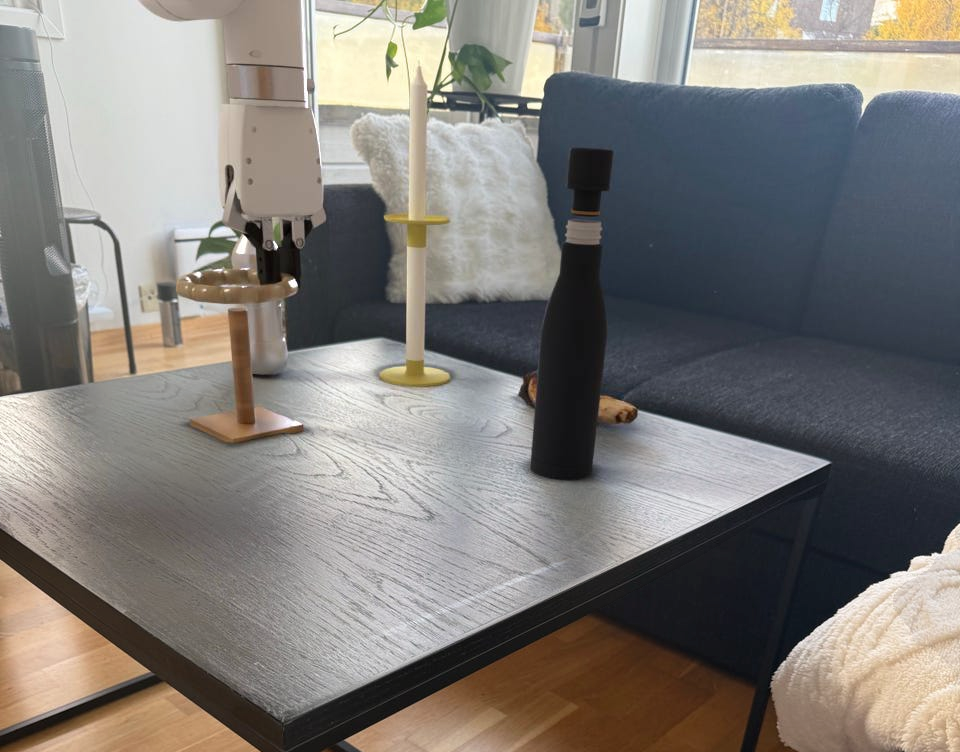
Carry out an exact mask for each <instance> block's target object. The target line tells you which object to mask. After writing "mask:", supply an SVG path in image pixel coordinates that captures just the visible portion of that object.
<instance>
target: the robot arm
mask: <svg viewBox="0 0 960 752" xmlns="http://www.w3.org/2000/svg"><path fill="white" fill-rule="evenodd" d="M303 1H304V0H138V2H139V3H140V4H141V5H142V6H143V7H144V8H145V9H146V10H148V11H149V12H150V13H151V14H154V15H155V16H156V17H159V18H161V19H163V20H167V21H171V22H179V23H180V22H181V23H182V22H191V21H204V20H205V21H206V20H207V21H208V20H220V21H221V22H222V25H223V26H222V27H223V38H224V49H225V61H226V63H225V64H226V75H227V86H228V97H229V103H221V108H220V116H219V127H218V143H217V144H218V150H217V151H218V152H217V153H218V154H217V157H218V159H217V161H218V165H217V166H218V188H219V189H218V190H219V199H220V204H221V207H222V209H223V213H222V218H221V222H222V224H223V225H224V226H225V227H227V228H230V229H232V230H235V231H237V232H240V233H241V235H242V234H243V235H244V236H245V237H246V238H247V239H248V240H249V241H250V244H251V246H252V247H254V248H256V261H257V274H258V279H259V280H260V285H268V284H276V283H279V282H281V273H285V274H289V275H292V276H293V277H294V278H295V280H296V282H297V285H298V290H299V289H300V288H301V277H302V267H301V266H302V265H301V249H303V248H304V247H305V243H306V241H305V240H306V239H307V237H308V236H309V235H310V233H311V231H312V230H313V229H315V228H317V227H318V226H320V225H322V224H324V223H325V222H326V220H327V214H326V212H325V209H324V208H325V207H324V206H323V204H324V180H323V178H324V177H323V167H322V155H321V148H320V147H321V146H320V141H319V136H318V129H317V125H316V119H315V115H314V112H313V108H312V107H308V95H313V94H314V93H315V89H316V85H315V84H316V83H315V81H314V80H313V79H312V78H308V77H307V68H306V47H305V45H306V44H305V25H304V2H303ZM242 214H247V216H248V220H246V219H244V218H243V217H242ZM273 218H279V233H280V234H279V235H280V243H281V245H277V250H274V242H275V238H274V223H273Z"/></svg>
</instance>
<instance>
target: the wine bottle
mask: <svg viewBox="0 0 960 752" xmlns="http://www.w3.org/2000/svg"><path fill="white" fill-rule="evenodd" d="M613 159H614V150H613V149H607V148H593V147H570V148H569V150H568V161H567V163H568V164H567V175H566V189H568V190H573V194H572V206H571V209H570V213H571V215H572V216H578V217H588V218H589V217H590V218H592V217H593V218H595V217H596V218H597V217H599V216H600V215H601V211H600V209H601V201H602V192H609V191H610V188H611V186H610V184H611V179H612V169H613V168H612V167H613ZM565 228H566V233H565V234H564V236H565V237H566V240H564V241H563V242H562V243H561V250H560V251H561V252H560V262H559V263H560V265H559V272H558V276H557V278H556V281H555V283H554V286H553V288H552V291H551V293H550V296H549V299H548V301H547V305H546V308H545V311H544V314H543V319H542V324H541V327H540V337H539V350H538V363H537V371H538V374H537V387H536V400H535V406H534V413H533V427H532V437H531V438H532V439H531V440H532V441H531V452H530V453H531V454H530V466H529V467H530V471H531V472H532V473H533V474H535V475H537V476H540V477H543V478H546V479H551V480H558V481H578V480H582V479H586V478H588V477H590V476H591V474H592V472H593V463H594V455H595V446H596V440H597V439H596V437H597V430H598V423H597V421H598V412H599V404H600V395H601V394H602V384H603V376H604V367H605V359H606V351H607V350H606V349H607V340H608V320H607V319H608V318H607V309H606V308H607V307H606V301H605V295H604V290H603V286H602V281H601V277H600V276H601V275H600V274H601V267H602V256H603V248H604V247H603V244H601V243H600V240H601V239H602V236H601V231H603V227H602V222H601V221H598V220H591V219H568V220H567V224H566V225H565Z"/></svg>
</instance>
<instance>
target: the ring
mask: <svg viewBox="0 0 960 752" xmlns="http://www.w3.org/2000/svg"><path fill="white" fill-rule="evenodd" d="M242 284H251V285H260V280H259V279H258V274H257V269H233V268H218V269H208V270H199V271H193V272H191V273H188V274H184V275H180V276H179V277H178V278H177V280H176V284H175V285H176V286H175V291H176V293H177V294H178V296H180V297H182V298H185V299H187V300H191V301H194V302H197V303H208V304H218V305H239V304H255V303H262V302H270V301H277V300H281V301H282V300H284V299H286V298H289V297H292V296H294V295H296V294H297V293H298V290H299V289H298V285H297V282H296V280H295V278H294V277H293V276H292V275H289V274H285V273H281V282H279V283H276V284H268V285H260V286H247V287H237V286H236V285H242ZM231 285H232V286H231ZM234 285H235V286H234Z"/></svg>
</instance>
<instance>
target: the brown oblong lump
mask: <svg viewBox="0 0 960 752" xmlns="http://www.w3.org/2000/svg"><path fill="white" fill-rule="evenodd" d="M537 374H538V370H535V371H533V370H531V371H530V372H528V373H527V374H525V375H522V384H520V387H519V391H518V394H517V396H518V397H519V398H521V400H522V401H524V403H525V404H526V406H529V407H535V400H536V387H537ZM638 413H639V410H638V408H637V407H636V406H634V405H633V404H631V403H628V402H625V401H622V400H619V399H617V398H614V397H612V396H608V395H600V404H599V412H598V421H597V424H598V423H599V424H606V425H620V424H622V423H623V424H625V425H627V424H629V425H630V424H631V423H633V422H634V421H635V420H636V419H637V418H638Z"/></svg>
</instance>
